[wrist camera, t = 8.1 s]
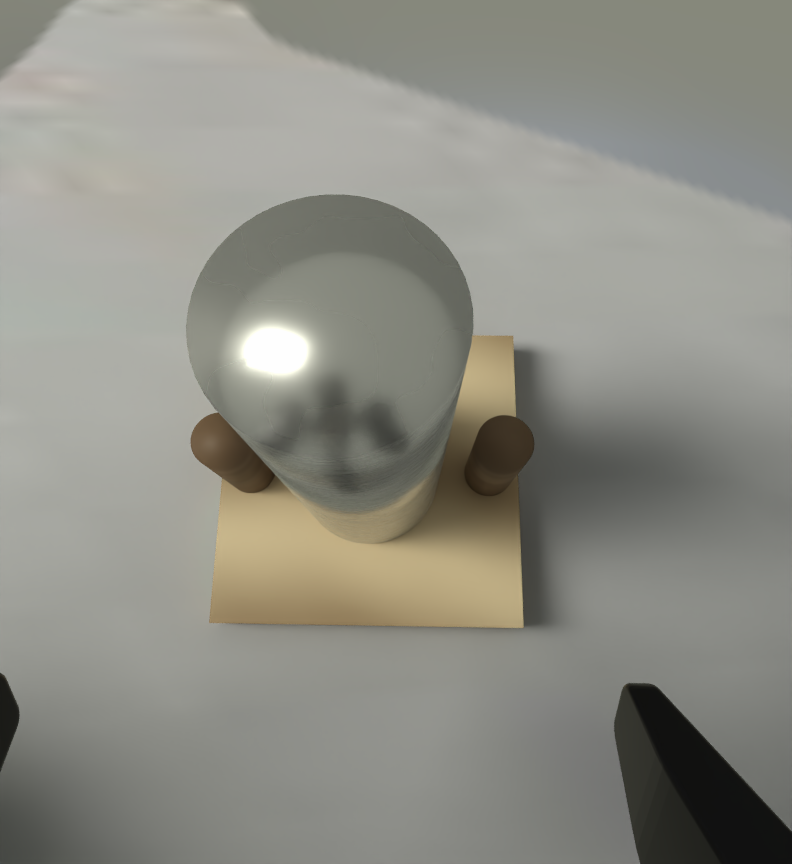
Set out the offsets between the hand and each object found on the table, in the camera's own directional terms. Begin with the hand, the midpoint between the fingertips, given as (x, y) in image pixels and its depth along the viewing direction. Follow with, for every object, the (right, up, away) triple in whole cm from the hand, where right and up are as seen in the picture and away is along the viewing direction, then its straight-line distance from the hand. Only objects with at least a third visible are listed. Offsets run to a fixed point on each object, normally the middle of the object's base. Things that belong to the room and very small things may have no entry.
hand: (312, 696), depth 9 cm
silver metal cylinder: (0, +2, +12) cm, 13 cm away
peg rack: (0, +2, +14) cm, 14 cm away
